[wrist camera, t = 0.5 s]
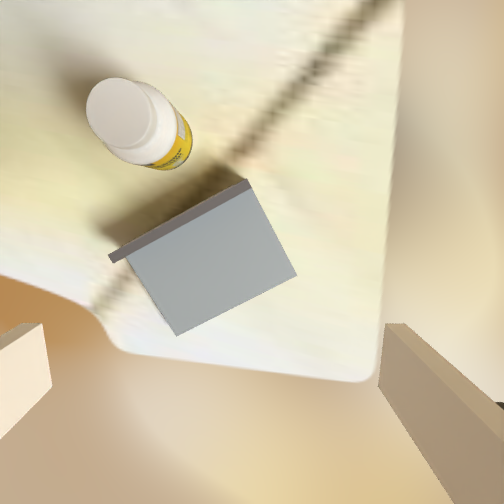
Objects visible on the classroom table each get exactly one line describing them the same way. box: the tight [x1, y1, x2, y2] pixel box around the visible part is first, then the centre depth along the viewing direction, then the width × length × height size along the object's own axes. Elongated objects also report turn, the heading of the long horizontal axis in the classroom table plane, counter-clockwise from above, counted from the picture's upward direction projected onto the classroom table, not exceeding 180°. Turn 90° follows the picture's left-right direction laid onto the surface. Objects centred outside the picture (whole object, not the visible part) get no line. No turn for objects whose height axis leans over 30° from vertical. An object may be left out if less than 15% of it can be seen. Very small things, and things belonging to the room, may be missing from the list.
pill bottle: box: [86, 77, 193, 170], centre depth 26 cm, size 6×6×12 cm
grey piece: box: [108, 179, 297, 337], centre depth 32 cm, size 12×16×5 cm
